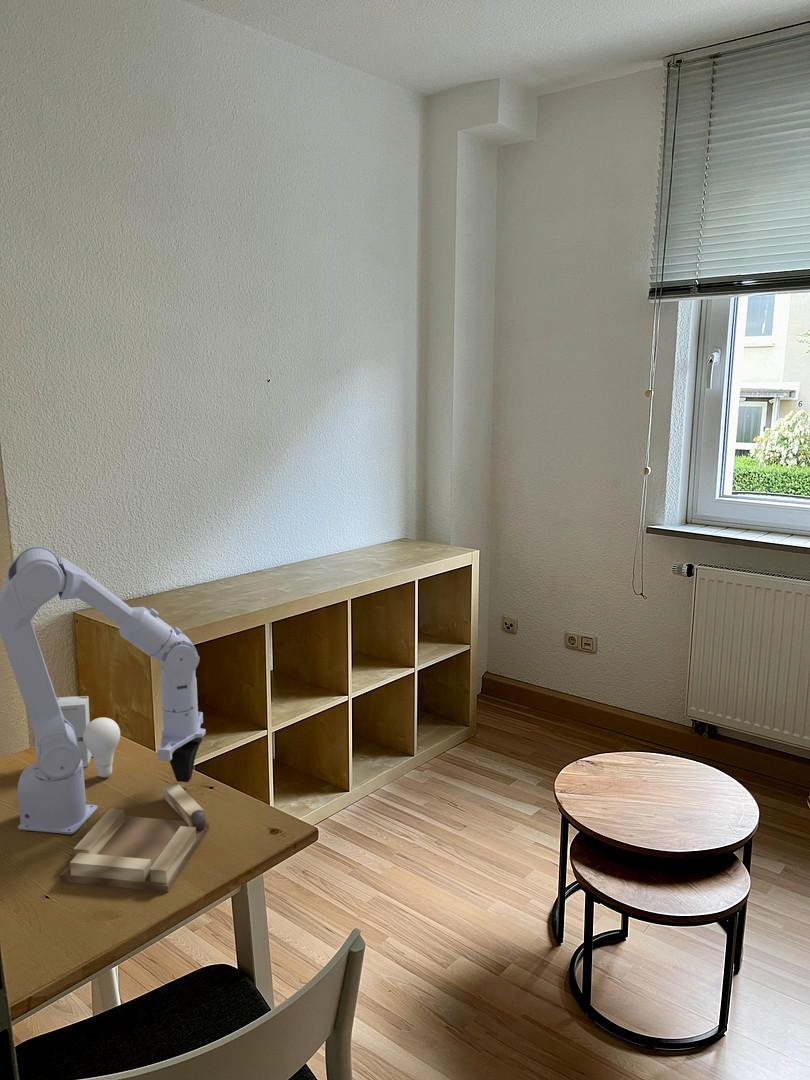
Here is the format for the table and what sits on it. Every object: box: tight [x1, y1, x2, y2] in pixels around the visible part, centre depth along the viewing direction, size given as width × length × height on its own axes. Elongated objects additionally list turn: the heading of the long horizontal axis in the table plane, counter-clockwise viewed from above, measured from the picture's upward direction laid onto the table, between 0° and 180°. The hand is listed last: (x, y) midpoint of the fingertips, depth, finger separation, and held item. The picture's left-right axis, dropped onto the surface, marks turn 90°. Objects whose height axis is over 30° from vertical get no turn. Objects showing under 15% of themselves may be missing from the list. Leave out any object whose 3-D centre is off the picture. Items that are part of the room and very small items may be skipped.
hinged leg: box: [162, 781, 207, 830], centre depth 136 cm, size 12×2×2 cm, turn 37°
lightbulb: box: [83, 716, 121, 779], centre depth 148 cm, size 6×6×11 cm
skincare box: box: [57, 695, 93, 768], centre depth 153 cm, size 6×4×12 cm
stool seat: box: [59, 808, 210, 893], centre depth 127 cm, size 16×16×3 cm
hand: (183, 779), depth 143 cm, fingers closed
